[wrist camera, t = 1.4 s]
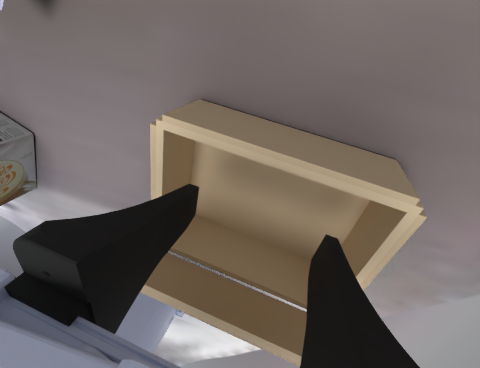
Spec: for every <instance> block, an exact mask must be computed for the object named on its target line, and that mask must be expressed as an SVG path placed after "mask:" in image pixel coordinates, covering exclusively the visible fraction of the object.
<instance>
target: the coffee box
mask: <svg viewBox="0 0 480 368" xmlns="http://www.w3.org/2000/svg"><path fill="white" fill-rule="evenodd" d="M35 188H37V185H36V169H35V152H34V136H33V134H32V133H31V132H30V131H28V130H27V129H25V128H24V127H22V126H20V125H19V124H17V123H16V122H14V121H13V120H11V119H10V118H8V117H7V116H5V115H3V114H2V113H0V206H1V205H3V204H5V203H7V202H9V201H11V200H13V199H15V198H17V197H19V196H21V195H23V194H25V193H27V192H29V191H31V190H33V189H35Z"/></svg>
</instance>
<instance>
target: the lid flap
mask: <svg viewBox="0 0 480 368" xmlns="http://www.w3.org/2000/svg"><path fill="white" fill-rule="evenodd" d="M140 292H141V293H143V294H145V295H147V296H149V297H151V298H154V299H156V300H158V301H160V302H162V303H164V304H167V305H169V306H171V307H173V308H175V309H177V310H179V311H182V312H184V313H186V314H188V315H190V316H192V317H194V318H197V319H199V320H201V321H203V322H205V323H207V324H209V325H212V326H214V327H216V328H218V329H220V330H222V331H224V332H227V333H229V334H231V335H233V336H235V337H237V338H240V339H242V340H244V341H246V342H248V343H250V344H252V345H255V346H257V347H259V348H261V349H263V350H265V351H268V352H270V353H272V354H274V355H276V356H278V357H280V358H282V359H285V360H287V361H289V362H291V363H293V364H295V365H298V366H300V364H301V358H302V351H303V345H304V338H305V330H306V319H307V312H305V311H303V310H300V309H298V308H296V307H293V306H291V305H289V304H286V303H284V302H282V301H279V300H277V299H275V298H272V297H270V296H268V295H265V294H263V293H260V292H258V291H256V290H253V289H251V288H249V287H246V286H244V285H242V284H239V283H237V282H235V281H232V280H230V279H228V278H225V277H223V276H221V275H218V274H216V273H214V272H211V271H209V270H207V269H204V268H202V267H200V266H197V265H195V264H193V263H190V262H188V261H186V260H183V259H181V258H179V257H176V256H174V255H172V254H169V253H166V255H165V256H164V257H163V258H162V260H161V261H160V262H159V264H158V265H157V267H156V268H155V270H154V271H153V273H152V274H151V276H150V277H149V279H148V280H147V282H146V283H145V285H144V286H143V288H142V290H141V291H140Z"/></svg>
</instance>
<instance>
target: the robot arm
mask: <svg viewBox="0 0 480 368" xmlns="http://www.w3.org/2000/svg"><path fill="white" fill-rule="evenodd" d="M198 193H199V187H198V186H195V185H192V184H187V185H185V186H183V187H181V188H178V189H176V190H174V191H172V192H170V193H167V194H165V195H163V196H160V197H158V198H155V199H153V200H150V201H147V202H145V203H142V204H139V205H136V206H133V207H129V208H126V209H122V210H118V211H114V212H109V213H105V214H100V215H94V216H88V217H81V218H73V219H63V220H51V221H45V222H43V223H41V224H40V225H38V226H37V227H35V228H33V229H32V230H30V231H28V232H27V233H25V234H24V235H22V236H20V237H19V238H17V239H16V240H15V241H14V243H13V250H14V252H15V254H16V257H17V259H18V261H19V263H20V265H21V267H22V269H23V271H24V273H22V274H21V275H20V276H18V277H17V278H16V277H15V276H14V275H13V274H12V273H10V272H8V271H7V270H5V269H3V268H0V368H180V367H178V366H176V365H174V364H172V363H170V362H168V361H166V360H164V359H162V358H160V357H159V356H157V355H155V354H154V352H155V350H156V348H157V347H158V345H159V343H160V341H161V340H162V338H163V336H164V334H165V333H166V331H167V329H168V327H169V325H170V324H171V322H172V320H173V318H174V317H175V315H177V316H180V317H182V316H183V314H184V312H182V311H179V310H177V309H175V308H173V307H171V306H169V305H167V304H164V303H162V302H160V301H158V300H156V299H154V298H151V297H149V296H147V295H145V294H143V293H141V292H140V291H141V290H142V288H143V286H144V285H145V283H146V282H147V280H148V279H149V277H150V276H151V274H152V273H153V271H154V270H155V268H156V267H157V265H158V264H159V262H160V261H161V260H162V258H163V257H164V256H165V255H166V253H167V252H168V251H169V250H170V249H171V247H172V246H173V245H174V244H175V242H176V241H177V240H178V239H179V238H180V236H181V235H182V234H183V233H184V231H185V230H186V229H187V228H188V226H189V224H190V223H191V221H192V220H193V218H194V216H195V215H196V208H197V201H198ZM300 368H420V367H419V366H418V365H417V364H416V363H415V362H414V360H413V359H412V358H411V357H410V356H409V355H408V353H407V352H406V351H405V350H404V349H403V347H402V346H401V345H400V344H399V342H398V341H397V340H396V339H395V337H394V336H393V335H392V333H391V332H390V330H389V329H388V328H387V326H386V325H385V324H384V322H383V321H382V320H381V318H380V317H379V315H378V314H377V312H376V311H375V309H374V308H373V306H372V305H371V303H370V301H369V300H368V298H367V297H366V295H365V293H364V291H363V290H362V288H361V286H360V284H359V282H358V281H357V279H356V277H355V275H354V273H353V271H352V269H351V267H350V265H349V262H348V260H347V258H346V256H345V254H344V251H343V249H342V247H341V245H340V242H339V240H338V238H335V237H332V236H330V235H327V234H326V235H325V237H324V238H323V240H322V242H321V243H320V245H319V247H318V249H317V250H316V252H315V254H314V256H313V257H312V259H311V264H310V269H309V275H308V292H307V319H306V330H305V338H304V345H303V351H302V358H301V364H300Z"/></svg>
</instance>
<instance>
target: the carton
mask: <svg viewBox="0 0 480 368" xmlns="http://www.w3.org/2000/svg"><path fill="white" fill-rule="evenodd" d="M150 140H151V200H153V199H155V198H158V197H160V196H163V195H165V194H167V193H170V192H172V191H174V190H176V189H178V188H181V187H183V186H185V185H187V184H192V185H195V186H198V187H199V193H198V201H197V208H196V215H195V216H194V218H193V220H192V221H191V223H190V224H189V226H188V228H187V229H186V230H185V231H184V233H183V234H182V235H181V236H180V238H179V239H178V240H177V241H176V242H175V244H174V245H173V246H172V247H171V249H170V250H169V251H172V252H174V253H176V254H179V255H181V256H183V257H186V258H188V259H190V260H193V261H195V262H197V263H200V264H202V265H204V266H207V267H209V268H212V269H214V270H216V271H219V272H221V273H223V274H226V275H228V276H230V277H233V278H235V279H237V280H240V281H242V282H244V283H247V284H249V285H251V286H254V287H256V288H259V289H261V290H263V291H266V292H268V293H270V294H273V295H275V296H277V297H280V298H282V299H284V300H287V301H289V302H291V303H294V304H296V305H298V306H301V307H303V308H306V309H307V292H308V275H309V269H310V264H311V259H312V257H313V256H314V254H315V252H316V250H317V249H318V247H319V245H320V243H321V242H322V240H323V238H324V237H325V235H326V234H327V235H330V236H332V237H335V238H338V240H339V242H340V245H341V247H342V249H343V251H344V254H345V256H346V258H347V260H348V262H349V265H350V267H351V269H352V271H353V273H354V275H355V277H356V279H357V281H358V282H359V284H360V286H361V288H362V290H363V291H364V289H365V288H366V287H367V286H368V285H369V284H370V283H371V281H372V280H373V279H374V278H375V277H376V276H377V274H378V273H379V272H380V271H381V270H382V269H383V268H384V266H385V265H386V264H387V263H388V262H389V261H390V260H391V258H392V257H393V256H394V255H395V254H396V253H397V252H398V250H399V249H400V248H401V247H402V246H403V245H404V243H405V242H406V241H407V240H408V239H409V238H410V237H411V235H412V234H413V233H414V232H415V231H416V230H417V229H418V227H419V226H420V225H421V224H422V223H423V222H424V220H425V219H426V218H427V216H426V215H425V213H424V211H423V209H424V208H423V206H422V205H421V203H420V198H419V196H418V195H417V193H416V191H415V190H414V188H413V186H412V185H411V183H410V181H409V180H408V178H407V176H406V175H405V173H404V172H403V170H402V168H401V167H400V165H399V163H398V162H397V160H395V159H391V158H388V157H385V156H382V155H378V154H375V153H372V152H369V151H366V150H362V149H359V148H356V147H353V146H349V145H346V144H343V143H340V142H336V141H333V140H330V139H327V138H323V137H320V136H317V135H314V134H311V133H307V132H304V131H301V130H298V129H294V128H291V127H288V126H285V125H281V124H278V123H275V122H272V121H268V120H265V119H262V118H259V117H256V116H252V115H249V114H246V113H243V112H239V111H236V110H233V109H230V108H226V107H223V106H220V105H217V104H213V103H210V102H207V101H204V100H201V99H199V100H197V101H194V102H192V103H189V104H187V105H185V106H182V107H180V108H177V109H175V110H172V111H170V112H168V113H165V114H163V115H162V117H161V118H158V119H156V122H153V123H151V124H150Z"/></svg>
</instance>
